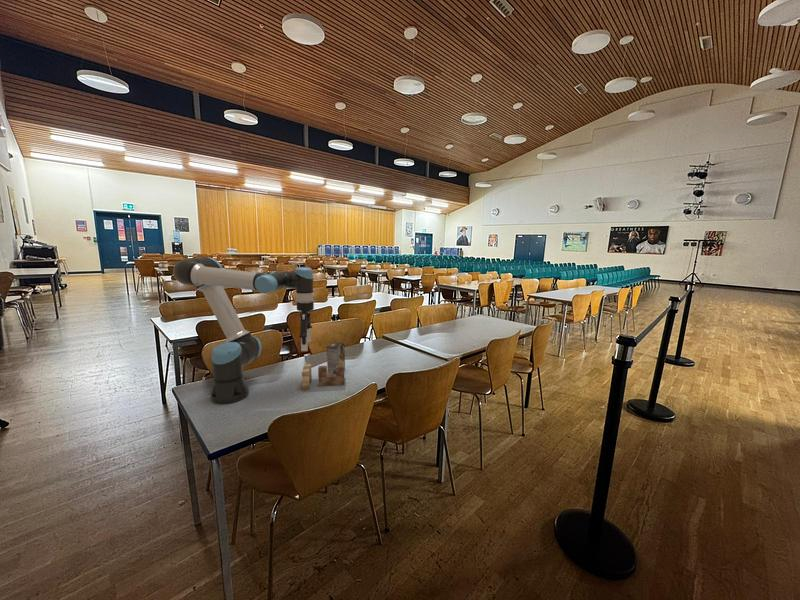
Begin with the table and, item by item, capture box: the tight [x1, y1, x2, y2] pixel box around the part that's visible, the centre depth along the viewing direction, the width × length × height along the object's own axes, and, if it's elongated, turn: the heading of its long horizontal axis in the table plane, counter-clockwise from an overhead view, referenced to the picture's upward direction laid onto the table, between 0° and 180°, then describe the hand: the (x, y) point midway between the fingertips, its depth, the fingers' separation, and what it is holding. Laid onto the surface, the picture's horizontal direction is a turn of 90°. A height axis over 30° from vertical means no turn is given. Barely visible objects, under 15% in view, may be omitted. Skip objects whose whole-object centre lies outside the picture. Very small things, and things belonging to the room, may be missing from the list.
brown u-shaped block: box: [317, 365, 346, 386], centre depth 160 cm, size 12×3×9 cm, turn 98°
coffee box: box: [326, 341, 346, 375], centre depth 174 cm, size 9×6×16 cm
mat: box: [300, 377, 347, 393], centre depth 160 cm, size 20×14×1 cm
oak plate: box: [301, 363, 313, 390], centre depth 158 cm, size 10×3×9 cm, turn 8°
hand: (306, 346), depth 156 cm, fingers open, 13 cm apart
